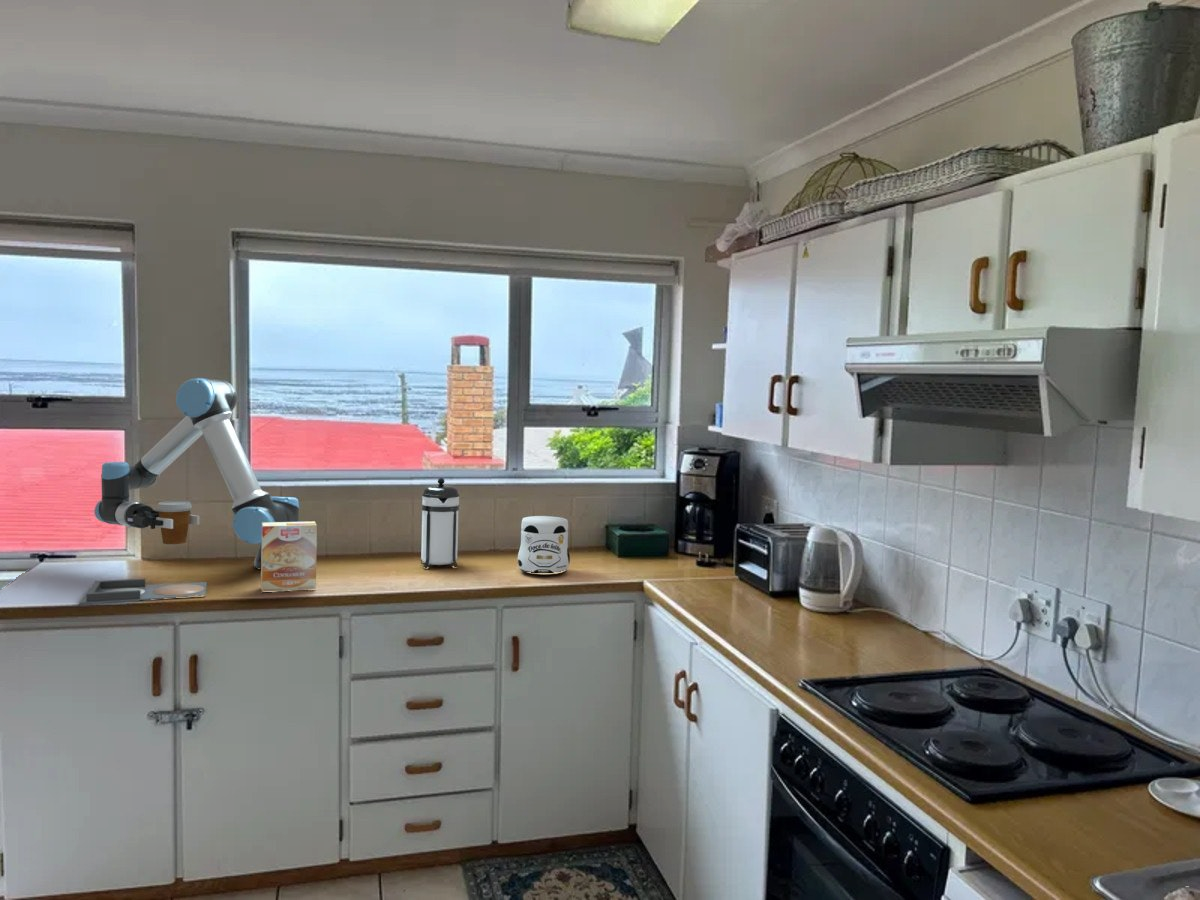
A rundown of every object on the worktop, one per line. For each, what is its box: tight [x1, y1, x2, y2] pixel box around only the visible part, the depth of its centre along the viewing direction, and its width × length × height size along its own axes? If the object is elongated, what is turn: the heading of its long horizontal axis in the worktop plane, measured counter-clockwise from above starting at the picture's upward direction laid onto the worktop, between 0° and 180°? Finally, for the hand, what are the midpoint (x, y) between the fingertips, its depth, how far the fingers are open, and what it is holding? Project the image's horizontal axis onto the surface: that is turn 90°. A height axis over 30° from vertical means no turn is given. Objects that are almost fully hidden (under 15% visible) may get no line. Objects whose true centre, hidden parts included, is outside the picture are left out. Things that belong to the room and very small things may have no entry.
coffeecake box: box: [260, 521, 318, 592], centre depth 248 cm, size 15×7×20 cm, turn 114°
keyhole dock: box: [79, 578, 208, 606], centre depth 237 cm, size 30×17×3 cm, turn 113°
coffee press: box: [420, 477, 461, 568], centre depth 288 cm, size 17×16×30 cm
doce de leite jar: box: [517, 515, 571, 573], centre depth 282 cm, size 17×17×18 cm
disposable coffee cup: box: [156, 500, 193, 545], centre depth 254 cm, size 10×10×12 cm
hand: (185, 522), depth 252 cm, fingers closed on disposable coffee cup, 8 cm apart
